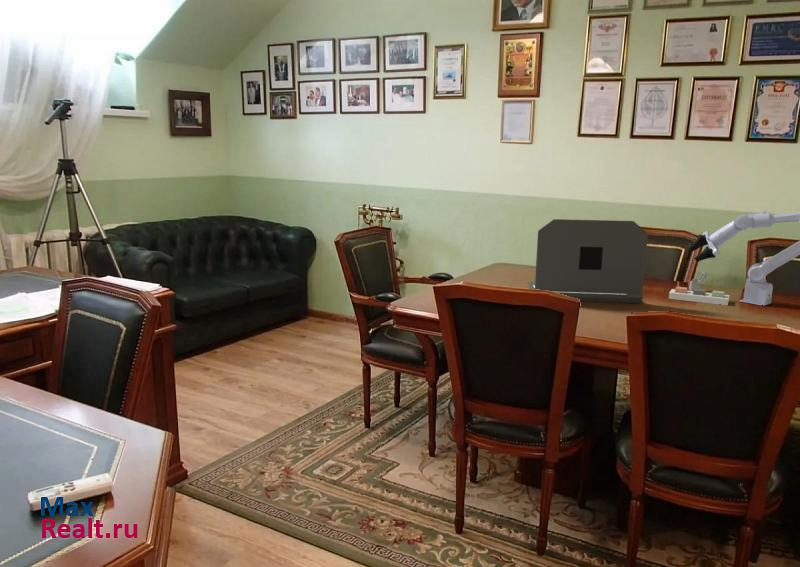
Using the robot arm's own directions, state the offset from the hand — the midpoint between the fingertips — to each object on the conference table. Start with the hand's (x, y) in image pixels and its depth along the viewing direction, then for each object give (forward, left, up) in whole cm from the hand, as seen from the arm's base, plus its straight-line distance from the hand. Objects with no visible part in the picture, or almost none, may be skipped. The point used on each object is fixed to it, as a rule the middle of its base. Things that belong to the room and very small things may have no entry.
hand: (693, 254), depth 262 cm
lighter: (+2, -11, -18) cm, 21 cm away
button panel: (-7, +7, -17) cm, 20 cm away
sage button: (-14, +4, -16) cm, 22 cm away
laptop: (+30, +37, -18) cm, 51 cm away
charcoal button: (-7, +7, -16) cm, 19 cm away
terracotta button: (-1, +9, -16) cm, 19 cm away
